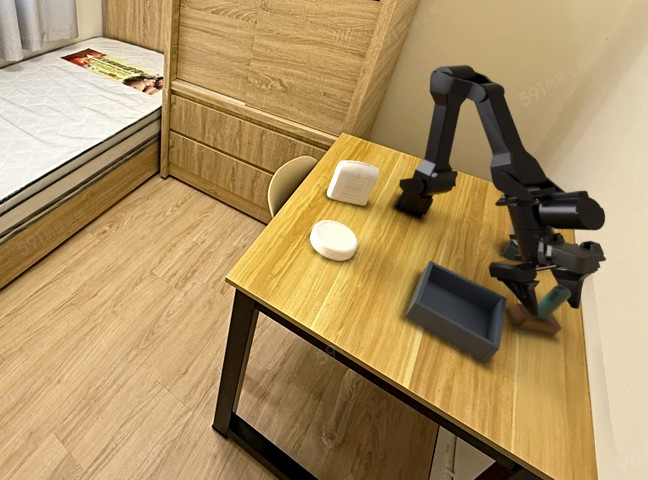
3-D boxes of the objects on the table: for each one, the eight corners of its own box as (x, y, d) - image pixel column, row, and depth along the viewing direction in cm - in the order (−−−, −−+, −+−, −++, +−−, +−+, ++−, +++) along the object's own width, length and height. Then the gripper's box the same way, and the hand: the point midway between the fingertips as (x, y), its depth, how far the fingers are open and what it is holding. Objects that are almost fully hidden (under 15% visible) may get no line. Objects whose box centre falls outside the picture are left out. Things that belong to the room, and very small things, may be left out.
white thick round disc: (305, 227, 101) (308, 217, 99) (345, 230, 101) (350, 220, 99) (315, 259, 93) (319, 249, 91) (359, 263, 92) (364, 253, 90)
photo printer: (365, 197, 111) (381, 162, 104) (367, 208, 107) (383, 172, 100) (326, 189, 113) (338, 154, 106) (326, 199, 110) (340, 164, 103)
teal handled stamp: (516, 330, 80) (552, 293, 73) (507, 312, 83) (540, 275, 76) (551, 337, 79) (591, 301, 72) (540, 319, 82) (577, 282, 75)
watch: (535, 271, 91) (564, 239, 85) (493, 250, 96) (517, 218, 90) (539, 258, 95) (568, 226, 88) (498, 238, 99) (522, 206, 93)
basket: (404, 317, 81) (414, 302, 78) (420, 275, 90) (429, 260, 87) (484, 364, 74) (499, 349, 71) (493, 313, 83) (507, 298, 80)
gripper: (537, 236, 69) (564, 332, 67) (623, 223, 72) (652, 314, 70) (477, 233, 80) (498, 316, 77) (553, 222, 83) (576, 301, 80)
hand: (555, 312), depth 76 cm, fingers open, 9 cm apart
